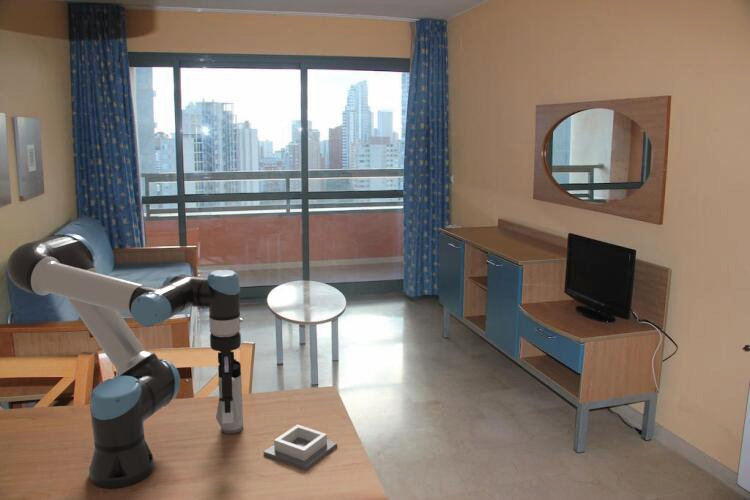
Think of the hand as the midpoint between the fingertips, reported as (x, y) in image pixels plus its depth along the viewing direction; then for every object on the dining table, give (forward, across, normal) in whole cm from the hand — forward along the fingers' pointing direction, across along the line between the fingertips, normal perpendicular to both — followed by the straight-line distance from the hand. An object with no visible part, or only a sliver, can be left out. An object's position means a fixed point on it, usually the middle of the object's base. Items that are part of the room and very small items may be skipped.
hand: (227, 416), depth 166 cm
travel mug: (+12, +16, -1) cm, 20 cm away
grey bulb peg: (+3, 0, 0) cm, 3 cm away
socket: (+12, 0, -19) cm, 22 cm away
